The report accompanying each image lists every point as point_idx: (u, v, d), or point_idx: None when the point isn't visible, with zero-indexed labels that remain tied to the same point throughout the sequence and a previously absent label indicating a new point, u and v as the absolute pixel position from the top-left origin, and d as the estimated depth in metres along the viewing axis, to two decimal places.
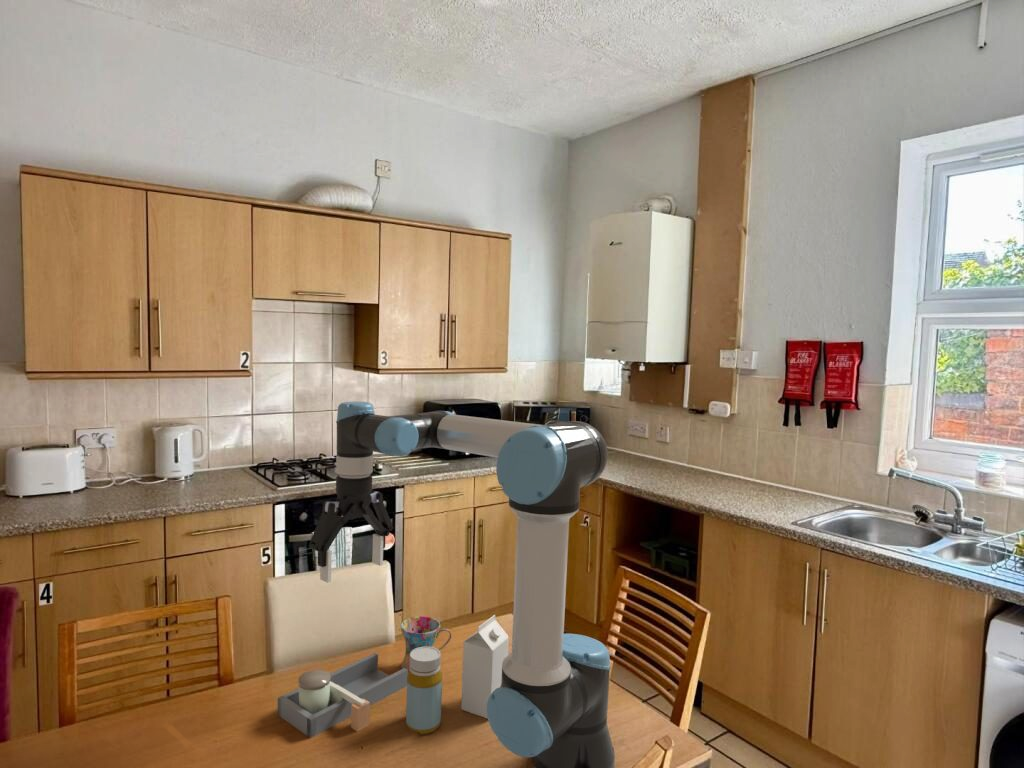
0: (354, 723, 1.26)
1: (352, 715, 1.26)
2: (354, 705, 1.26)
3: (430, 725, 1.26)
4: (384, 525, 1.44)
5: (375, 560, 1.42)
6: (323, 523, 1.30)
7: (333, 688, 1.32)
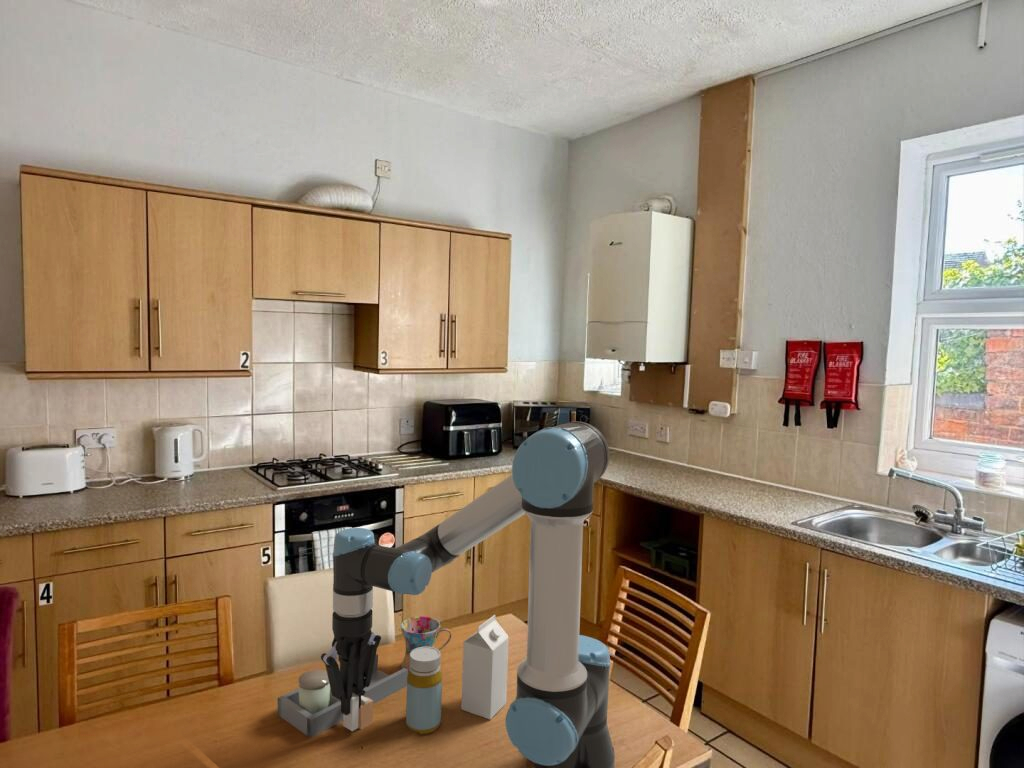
0: None
1: None
2: None
3: (430, 725, 1.26)
4: None
5: None
6: (333, 676, 1.20)
7: None
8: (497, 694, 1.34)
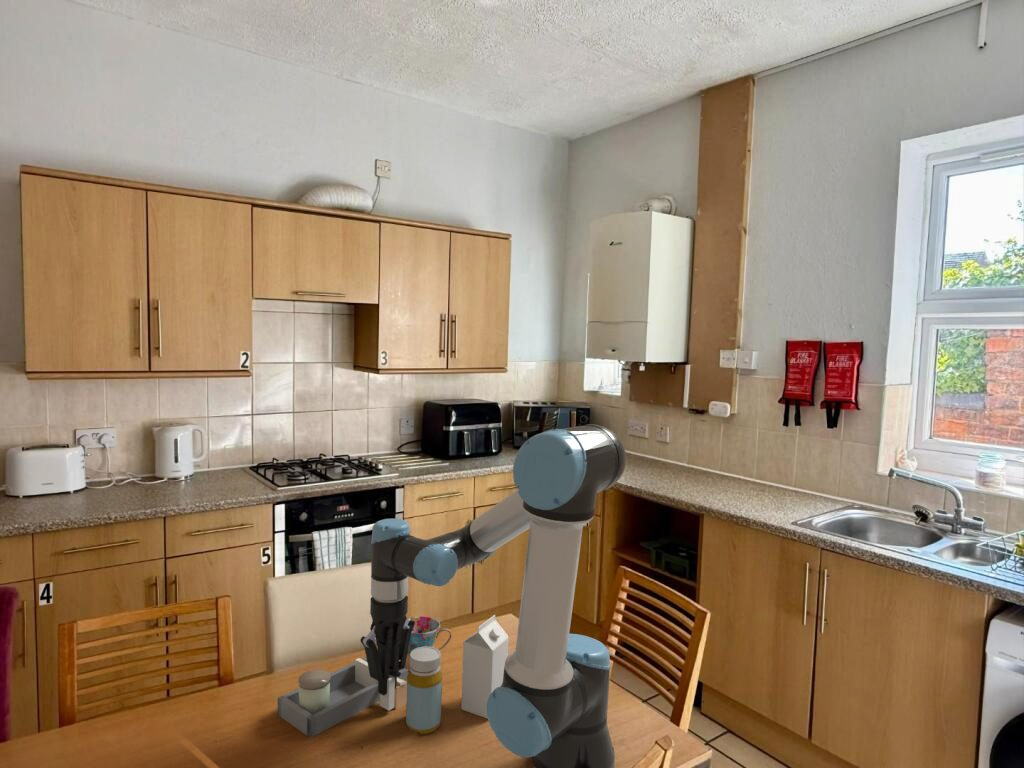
0: None
1: None
2: None
3: (430, 725, 1.26)
4: None
5: None
6: (371, 658, 1.27)
7: None
8: None
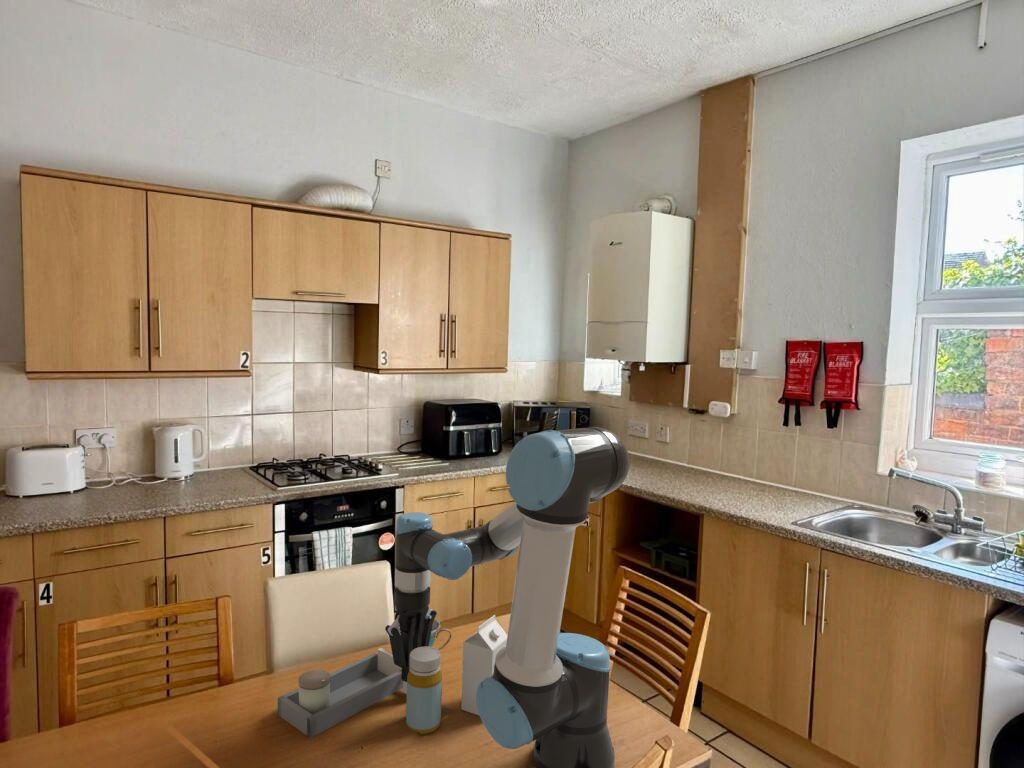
0: None
1: None
2: None
3: (430, 725, 1.26)
4: None
5: None
6: (396, 646, 1.33)
7: None
8: None
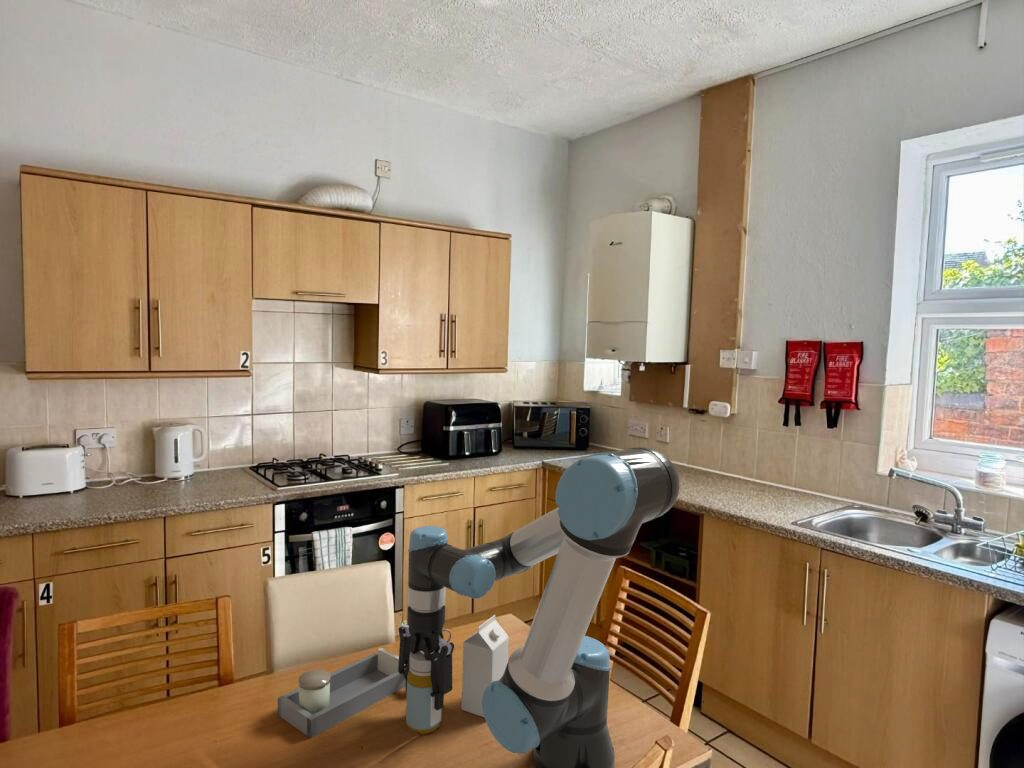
0: None
1: None
2: None
3: None
4: None
5: None
6: None
7: (394, 658, 1.44)
8: None
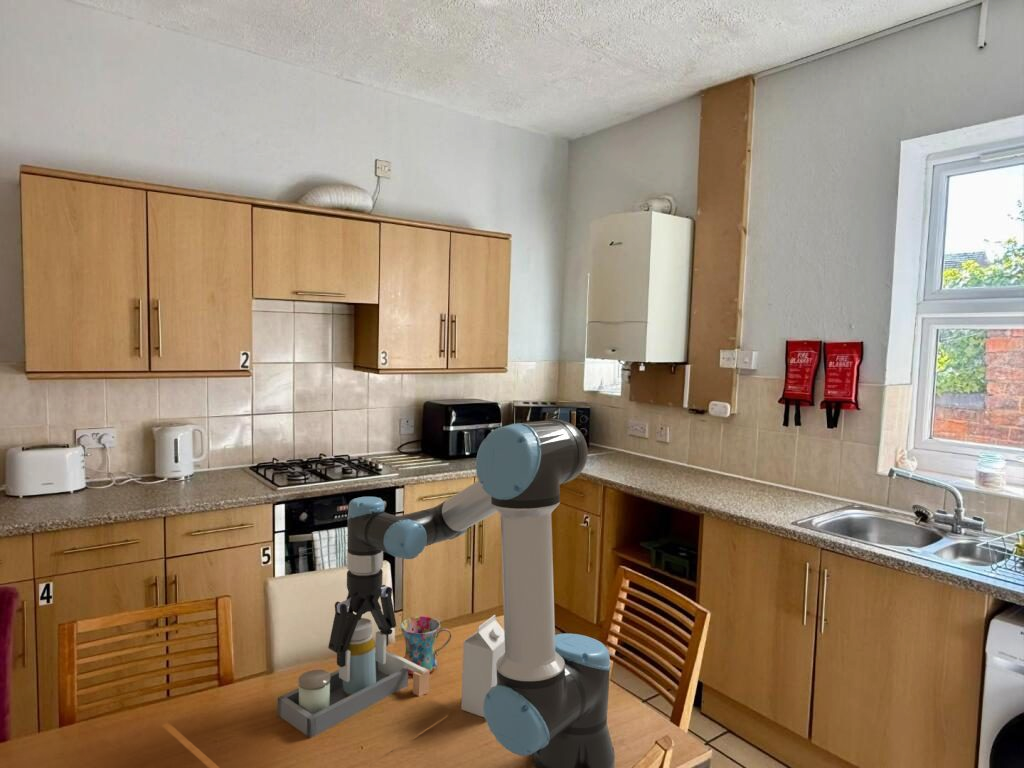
0: (416, 689, 1.39)
1: (414, 681, 1.39)
2: (416, 672, 1.39)
3: None
4: (387, 622, 1.44)
5: (378, 658, 1.43)
6: (338, 625, 1.33)
7: (394, 658, 1.44)
8: None
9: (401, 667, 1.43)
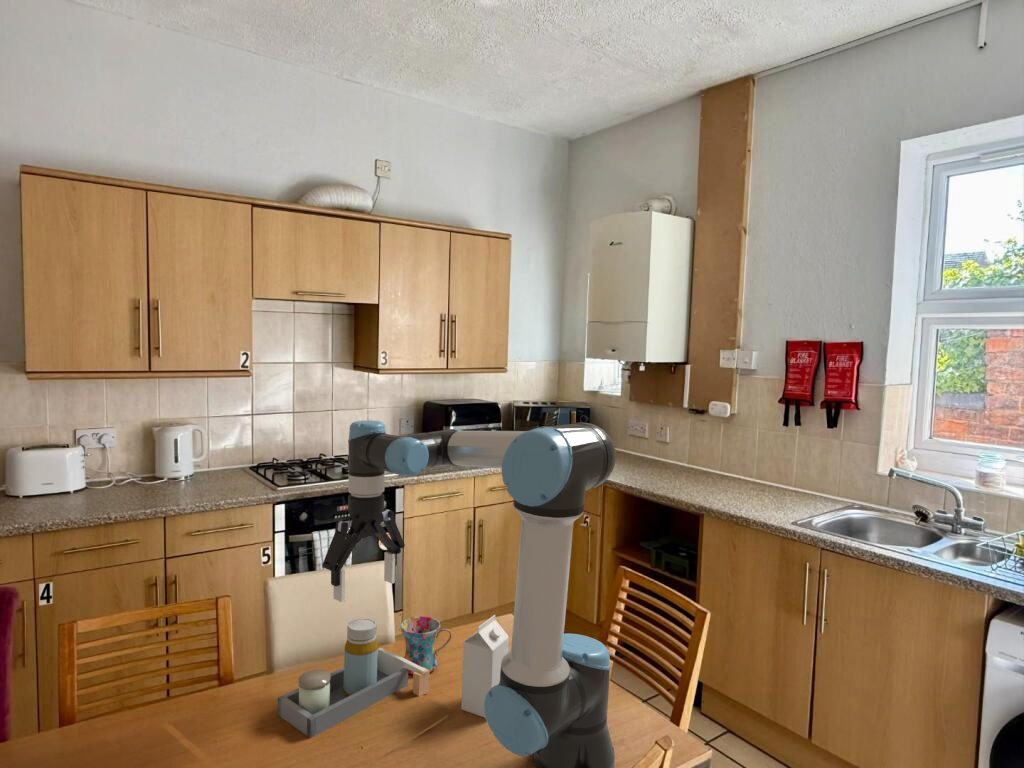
0: (416, 689, 1.39)
1: (414, 681, 1.39)
2: (416, 672, 1.39)
3: None
4: (395, 543, 1.45)
5: (387, 578, 1.43)
6: (336, 543, 1.31)
7: (394, 658, 1.44)
8: None
9: (401, 667, 1.43)
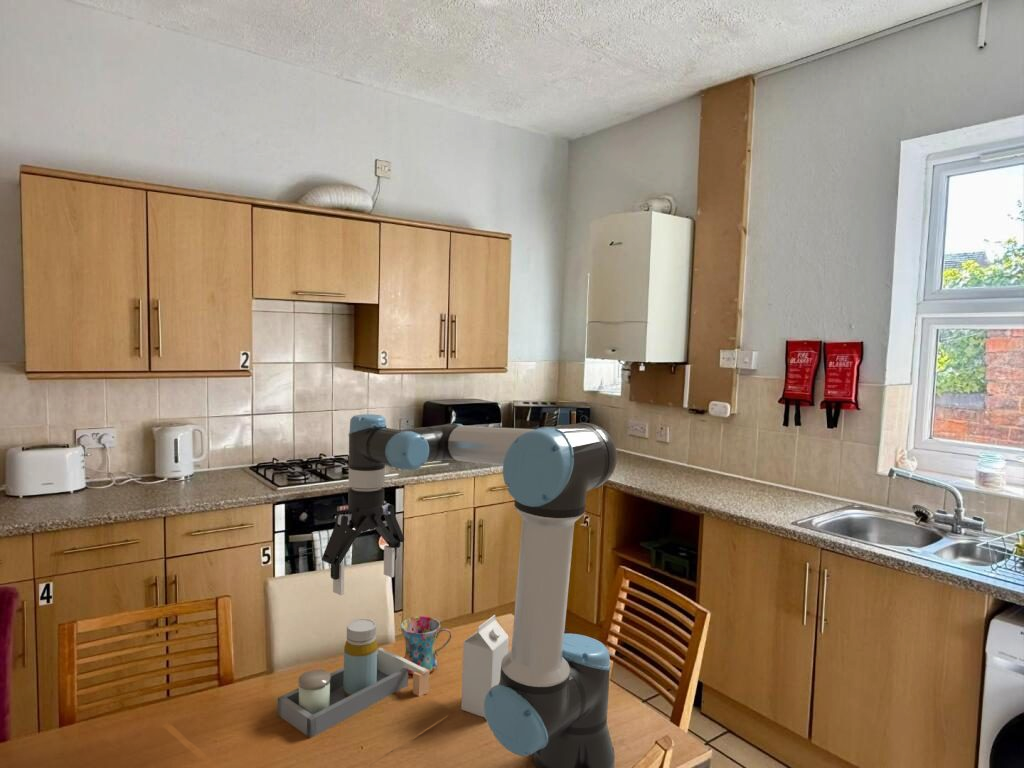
0: (416, 689, 1.39)
1: (414, 681, 1.39)
2: (416, 672, 1.39)
3: None
4: (395, 537, 1.45)
5: (386, 572, 1.43)
6: (336, 536, 1.31)
7: (394, 658, 1.44)
8: None
9: (401, 667, 1.43)
